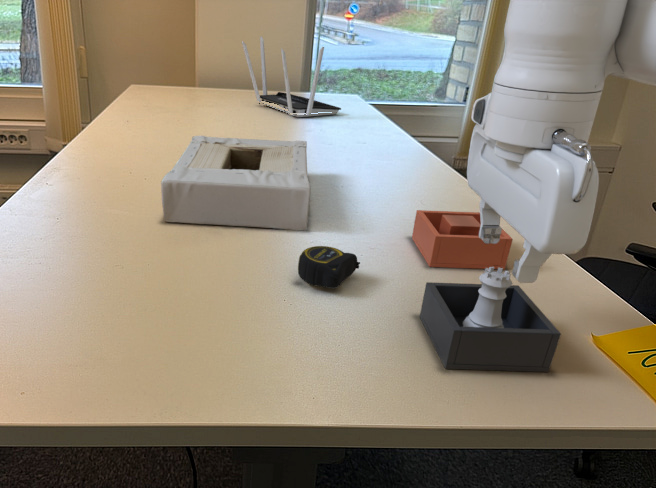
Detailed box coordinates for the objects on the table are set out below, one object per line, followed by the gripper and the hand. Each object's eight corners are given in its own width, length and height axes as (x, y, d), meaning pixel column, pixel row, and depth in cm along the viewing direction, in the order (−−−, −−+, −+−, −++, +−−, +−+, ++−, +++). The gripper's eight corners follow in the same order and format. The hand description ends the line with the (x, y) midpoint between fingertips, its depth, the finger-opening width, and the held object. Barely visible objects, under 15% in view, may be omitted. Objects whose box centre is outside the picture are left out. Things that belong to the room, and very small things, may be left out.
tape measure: (335, 298, 72) (338, 270, 70) (287, 282, 75) (289, 256, 73) (358, 278, 77) (361, 252, 75) (312, 265, 80) (314, 240, 78)
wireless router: (352, 118, 174) (361, 46, 165) (288, 124, 164) (292, 47, 154) (291, 100, 200) (295, 36, 190) (231, 104, 189) (233, 36, 180)
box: (191, 169, 120) (161, 223, 92) (191, 131, 117) (160, 175, 88) (303, 177, 120) (309, 233, 91) (307, 139, 116) (313, 185, 88)
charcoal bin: (508, 320, 69) (518, 285, 66) (548, 372, 59) (561, 333, 57) (419, 317, 68) (426, 282, 66) (445, 369, 59) (454, 330, 57)
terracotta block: (466, 244, 88) (472, 215, 86) (476, 256, 84) (483, 226, 82) (436, 243, 88) (442, 214, 85) (445, 255, 84) (451, 225, 82)
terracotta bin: (479, 240, 91) (485, 212, 89) (504, 269, 81) (513, 239, 79) (411, 238, 91) (416, 210, 88) (429, 266, 81) (435, 236, 79)
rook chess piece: (508, 350, 62) (528, 282, 58) (466, 348, 62) (483, 280, 58) (493, 328, 66) (511, 263, 62) (454, 326, 66) (469, 262, 62)
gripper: (639, 148, 44) (586, 309, 50) (527, 101, 62) (499, 224, 68) (555, 146, 43) (513, 308, 50) (467, 99, 62) (445, 223, 68)
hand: (504, 259), depth 59 cm, fingers open, 8 cm apart
